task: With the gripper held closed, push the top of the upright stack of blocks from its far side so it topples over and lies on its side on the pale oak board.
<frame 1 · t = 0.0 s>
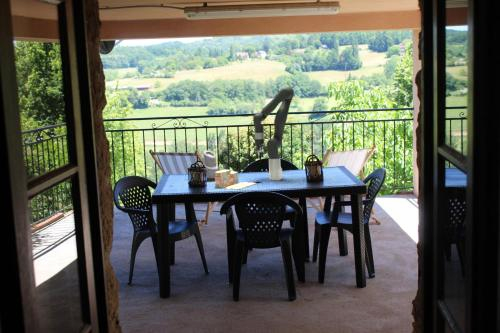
hand: (259, 158, 555), 17 cm above the table, tool pointing down, fingers open, 8 cm apart
oak board: (240, 186, 530), on the table
stack of blocks: (227, 185, 536), on the table
juicer: (206, 180, 569), on the table
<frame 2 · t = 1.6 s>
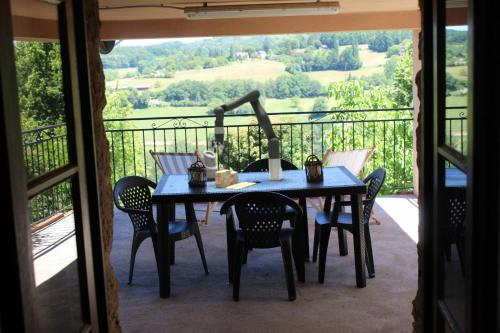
hand: (219, 153, 540), 25 cm above the table, tool pointing down, fingers open, 8 cm apart
nothing on the table moved.
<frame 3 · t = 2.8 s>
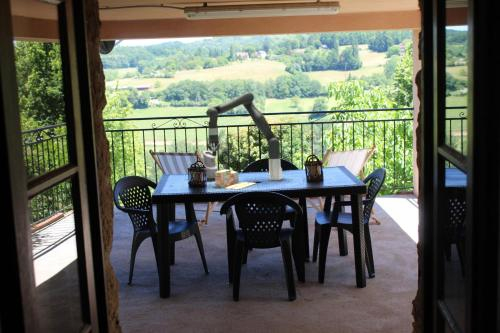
hand: (214, 156, 537), 23 cm above the table, tool pointing down, fingers closed
nothing on the table moved.
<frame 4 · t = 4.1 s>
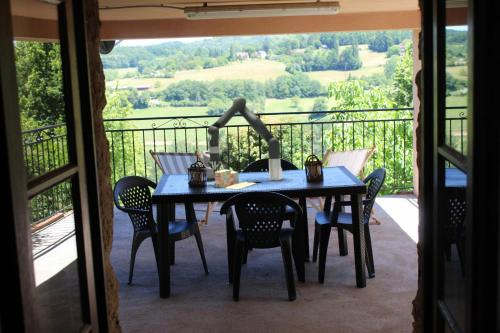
hand: (215, 174, 540), 9 cm above the table, tool pointing down, fingers closed
nothing on the table moved.
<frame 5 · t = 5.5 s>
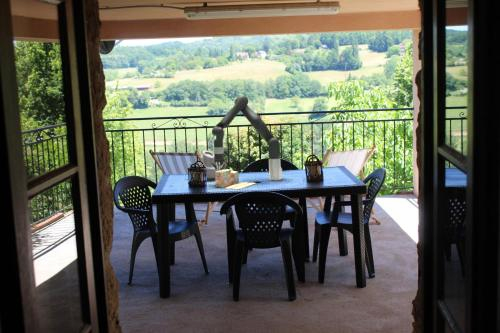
hand: (219, 174, 538), 8 cm above the table, tool pointing down, fingers closed
stack of blocks: (227, 185, 537), on the table, touching gripper
everything else where it was.
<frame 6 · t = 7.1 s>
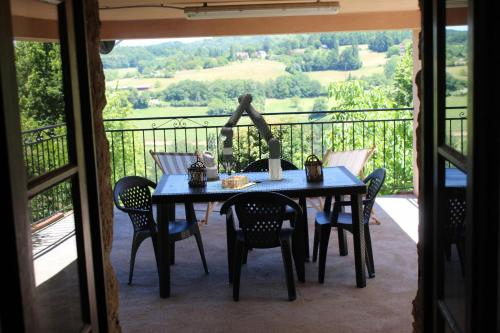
hand: (229, 175, 534), 8 cm above the table, tool pointing down, fingers closed
stack of blocks: (230, 181, 535), point 3 cm above the table, touching oak board
everything else where it was.
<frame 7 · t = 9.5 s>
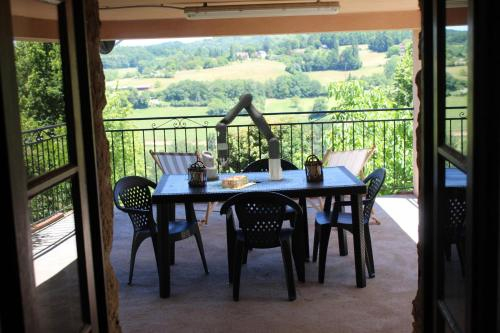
hand: (224, 170, 540), 11 cm above the table, tool pointing down, fingers closed
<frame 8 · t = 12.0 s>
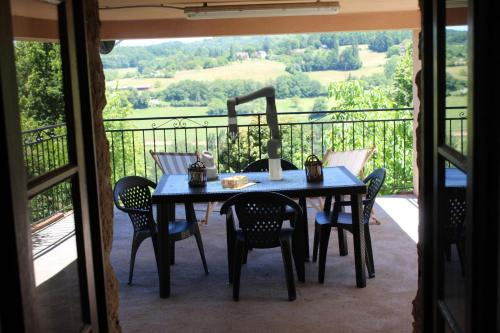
hand: (233, 144, 555), 29 cm above the table, tool pointing down, fingers closed
at the end: stack of blocks tilted 90°; stack of blocks touching oak board; stack of blocks inside the target area (1.3 cm from its centre), point 3.5 cm above the table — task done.
